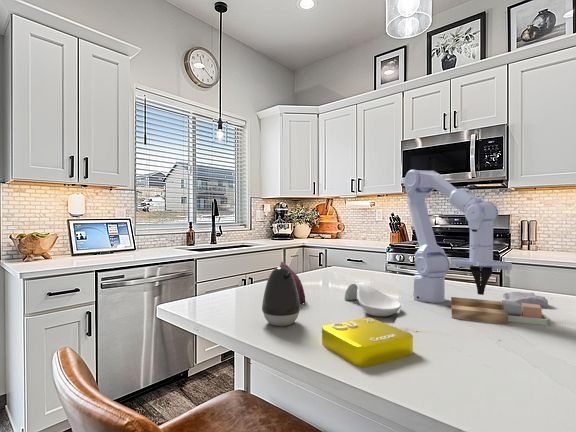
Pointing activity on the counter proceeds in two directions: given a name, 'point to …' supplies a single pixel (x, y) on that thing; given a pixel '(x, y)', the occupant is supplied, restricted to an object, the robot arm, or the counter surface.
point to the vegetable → (298, 284)
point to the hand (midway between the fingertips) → (480, 293)
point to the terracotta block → (531, 310)
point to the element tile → (367, 341)
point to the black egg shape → (281, 298)
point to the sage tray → (530, 320)
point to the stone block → (526, 298)
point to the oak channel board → (478, 310)
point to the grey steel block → (511, 308)
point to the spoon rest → (372, 300)
